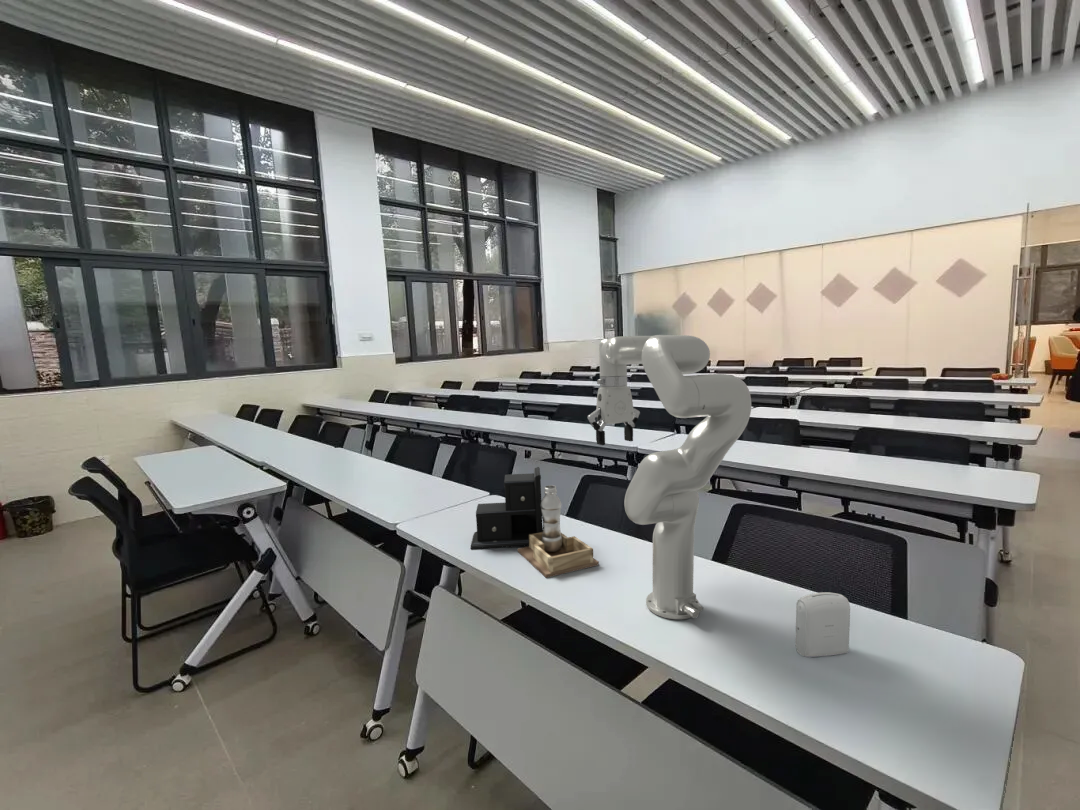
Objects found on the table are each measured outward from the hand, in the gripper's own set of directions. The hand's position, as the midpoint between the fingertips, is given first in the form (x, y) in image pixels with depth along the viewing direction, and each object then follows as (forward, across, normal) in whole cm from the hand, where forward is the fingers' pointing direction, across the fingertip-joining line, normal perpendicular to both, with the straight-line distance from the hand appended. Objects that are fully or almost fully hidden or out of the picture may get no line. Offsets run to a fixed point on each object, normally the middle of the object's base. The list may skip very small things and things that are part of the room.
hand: (615, 442), depth 143 cm
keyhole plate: (+35, -14, +12) cm, 40 cm away
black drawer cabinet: (+35, -21, +32) cm, 52 cm away
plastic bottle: (+34, -13, +16) cm, 40 cm away
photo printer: (+38, +11, -55) cm, 67 cm away
